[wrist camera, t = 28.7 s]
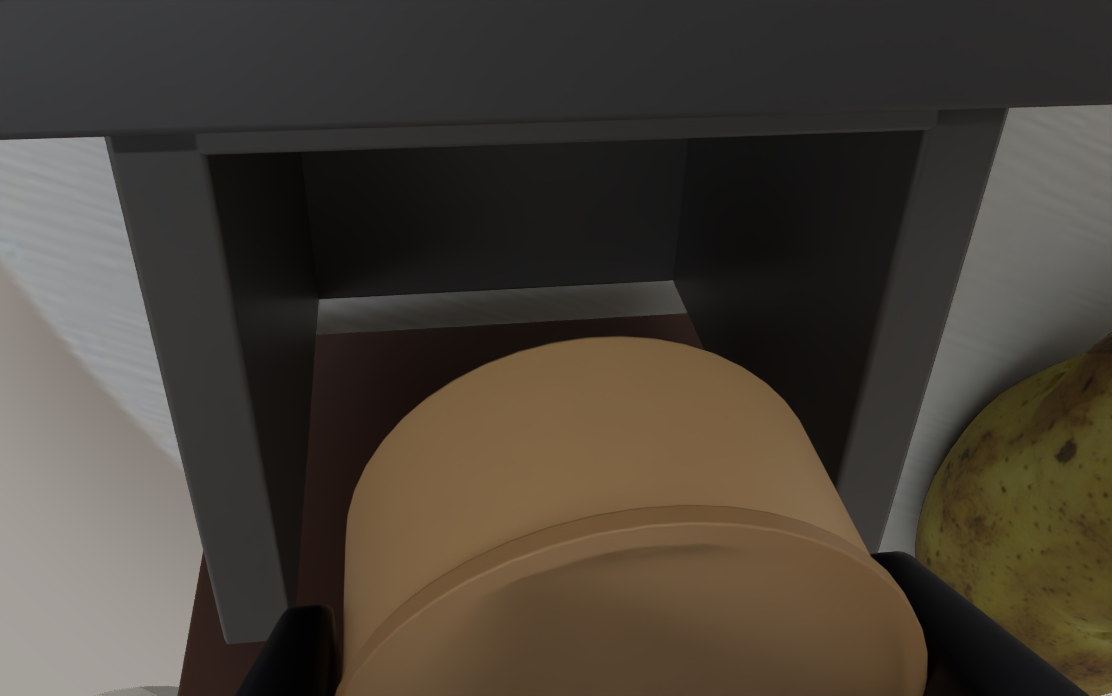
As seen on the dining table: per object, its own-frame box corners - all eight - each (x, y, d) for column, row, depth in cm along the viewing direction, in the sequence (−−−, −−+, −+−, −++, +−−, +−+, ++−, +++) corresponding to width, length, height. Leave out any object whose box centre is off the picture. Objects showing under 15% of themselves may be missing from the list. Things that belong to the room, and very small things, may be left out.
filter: (548, 735, 13) (580, 950, 11) (225, 533, 10) (187, 768, 8) (905, 519, 11) (1020, 718, 9) (640, 217, 9) (723, 406, 7)
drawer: (702, 504, 24) (843, 882, 17) (276, 540, 23) (233, 966, 16) (800, -143, 16) (1144, 54, 9) (153, -146, 15) (-51, 84, 8)
